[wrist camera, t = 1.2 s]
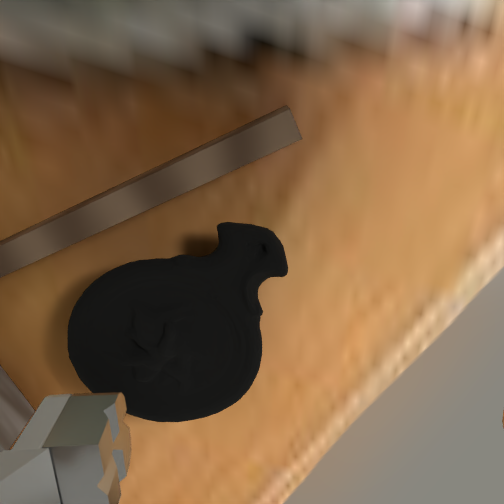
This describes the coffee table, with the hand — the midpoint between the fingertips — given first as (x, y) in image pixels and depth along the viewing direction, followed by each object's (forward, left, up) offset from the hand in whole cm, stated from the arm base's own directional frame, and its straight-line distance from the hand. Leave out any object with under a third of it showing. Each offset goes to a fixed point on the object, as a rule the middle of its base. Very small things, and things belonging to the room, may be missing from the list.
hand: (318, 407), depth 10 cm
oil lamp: (+11, +7, -26) cm, 29 cm away
